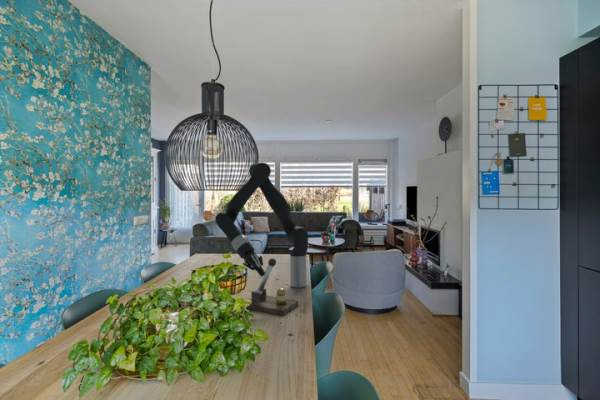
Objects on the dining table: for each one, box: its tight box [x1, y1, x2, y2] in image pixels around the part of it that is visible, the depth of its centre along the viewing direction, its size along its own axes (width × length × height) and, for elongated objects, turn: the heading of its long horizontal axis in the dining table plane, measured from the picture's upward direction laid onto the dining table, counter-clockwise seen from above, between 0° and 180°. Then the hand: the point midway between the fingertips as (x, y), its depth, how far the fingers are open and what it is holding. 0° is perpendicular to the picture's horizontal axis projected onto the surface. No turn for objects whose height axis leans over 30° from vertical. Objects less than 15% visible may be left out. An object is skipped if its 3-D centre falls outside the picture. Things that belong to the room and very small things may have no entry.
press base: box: [246, 288, 299, 316], centre depth 142 cm, size 14×22×6 cm, turn 63°
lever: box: [254, 257, 277, 295], centre depth 143 cm, size 4×4×20 cm
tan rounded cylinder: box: [275, 287, 287, 305], centre depth 140 cm, size 4×4×7 cm
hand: (263, 275), depth 144 cm, fingers closed
